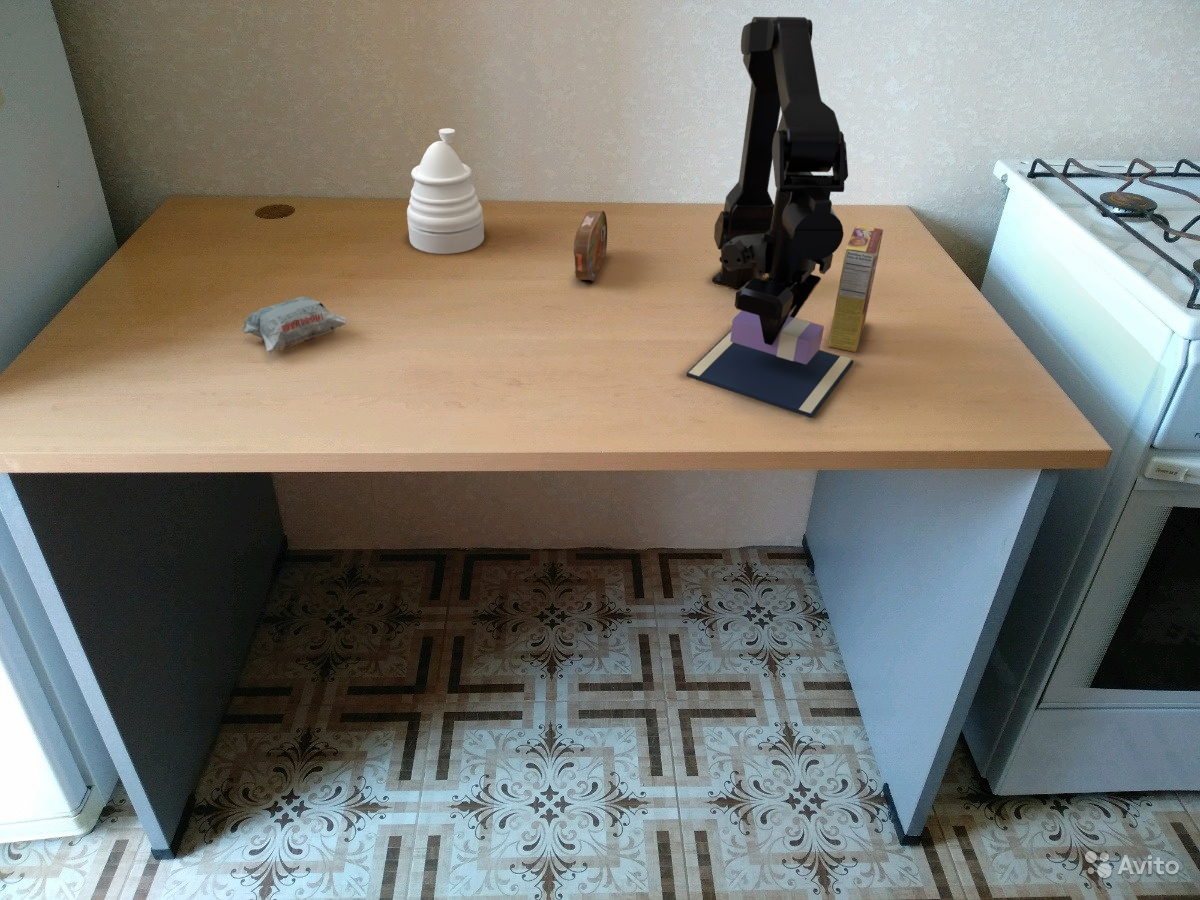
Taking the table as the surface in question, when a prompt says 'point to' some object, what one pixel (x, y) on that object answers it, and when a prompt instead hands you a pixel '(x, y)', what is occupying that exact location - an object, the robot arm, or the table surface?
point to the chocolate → (779, 337)
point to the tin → (590, 245)
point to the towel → (772, 375)
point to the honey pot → (444, 202)
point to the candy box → (855, 287)
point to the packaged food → (292, 323)
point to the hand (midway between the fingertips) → (776, 335)
